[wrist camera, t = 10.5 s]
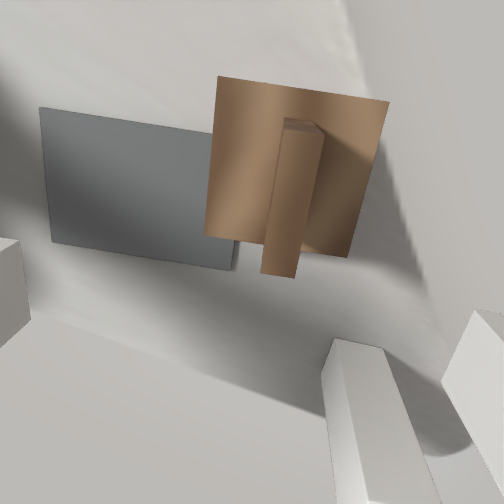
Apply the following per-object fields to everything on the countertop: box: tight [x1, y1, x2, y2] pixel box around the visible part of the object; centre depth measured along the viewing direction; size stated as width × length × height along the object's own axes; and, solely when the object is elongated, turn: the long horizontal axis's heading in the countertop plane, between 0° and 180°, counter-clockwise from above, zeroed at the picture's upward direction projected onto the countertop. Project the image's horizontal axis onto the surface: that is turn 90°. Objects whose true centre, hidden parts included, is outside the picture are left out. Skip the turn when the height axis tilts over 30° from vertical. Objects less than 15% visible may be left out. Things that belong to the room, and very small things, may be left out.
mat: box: [39, 107, 235, 271], centre depth 37 cm, size 20×14×1 cm
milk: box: [321, 338, 442, 504], centre depth 34 cm, size 6×6×22 cm
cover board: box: [204, 76, 389, 279], centre depth 24 cm, size 12×12×10 cm
